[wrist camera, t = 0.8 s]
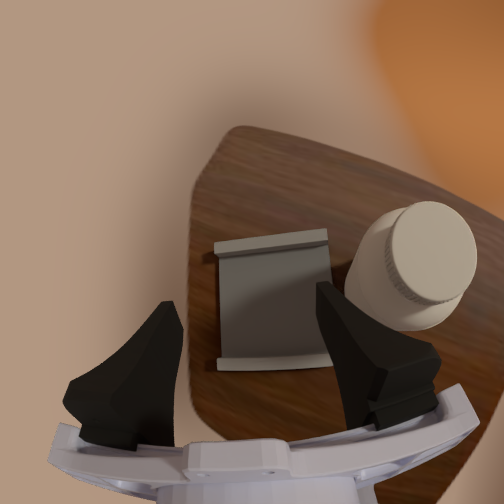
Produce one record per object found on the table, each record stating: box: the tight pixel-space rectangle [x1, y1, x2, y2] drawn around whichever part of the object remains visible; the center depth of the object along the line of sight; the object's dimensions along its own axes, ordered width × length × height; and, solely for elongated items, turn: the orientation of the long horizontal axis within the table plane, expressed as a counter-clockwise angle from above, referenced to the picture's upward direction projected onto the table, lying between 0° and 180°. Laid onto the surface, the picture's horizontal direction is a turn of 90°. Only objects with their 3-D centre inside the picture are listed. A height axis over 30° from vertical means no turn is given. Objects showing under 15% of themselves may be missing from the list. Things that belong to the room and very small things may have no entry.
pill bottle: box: [344, 201, 477, 331], centre depth 18 cm, size 8×8×15 cm
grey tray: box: [214, 228, 333, 371], centre depth 27 cm, size 13×12×2 cm
